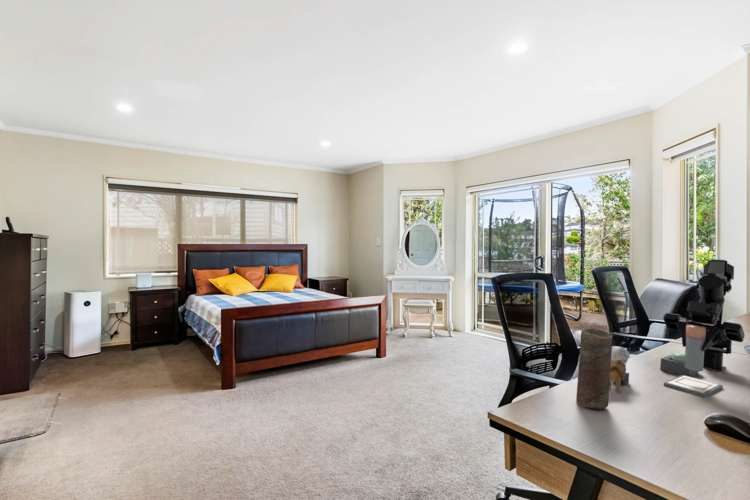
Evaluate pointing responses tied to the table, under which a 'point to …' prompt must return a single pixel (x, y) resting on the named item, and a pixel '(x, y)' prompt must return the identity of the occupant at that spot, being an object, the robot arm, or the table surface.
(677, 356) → the button
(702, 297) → the robot arm
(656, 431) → the table surface
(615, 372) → the lion figurine
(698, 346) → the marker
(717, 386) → the board
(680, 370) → the button housing
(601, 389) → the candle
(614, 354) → the watch
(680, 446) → the table surface
